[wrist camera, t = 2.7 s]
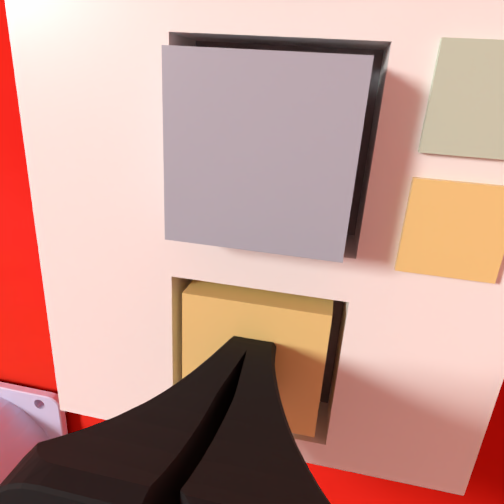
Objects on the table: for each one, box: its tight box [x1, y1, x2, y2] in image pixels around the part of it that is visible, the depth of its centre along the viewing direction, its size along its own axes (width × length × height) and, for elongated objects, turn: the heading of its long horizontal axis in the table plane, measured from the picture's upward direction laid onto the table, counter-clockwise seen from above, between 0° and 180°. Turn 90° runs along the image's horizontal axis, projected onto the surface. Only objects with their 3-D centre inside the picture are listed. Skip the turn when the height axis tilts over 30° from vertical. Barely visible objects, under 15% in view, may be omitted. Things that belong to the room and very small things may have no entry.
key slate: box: [162, 45, 374, 263], centre depth 10 cm, size 4×4×2 cm
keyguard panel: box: [5, 0, 504, 496], centre depth 12 cm, size 14×20×3 cm
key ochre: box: [182, 280, 333, 437], centre depth 14 cm, size 4×4×2 cm
